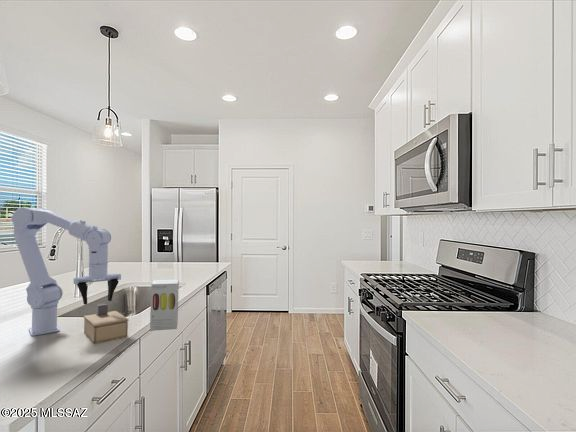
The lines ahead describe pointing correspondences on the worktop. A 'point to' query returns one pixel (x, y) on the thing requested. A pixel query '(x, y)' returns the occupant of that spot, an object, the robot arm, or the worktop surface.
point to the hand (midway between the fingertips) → (97, 302)
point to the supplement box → (164, 305)
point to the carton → (105, 331)
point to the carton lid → (104, 316)
